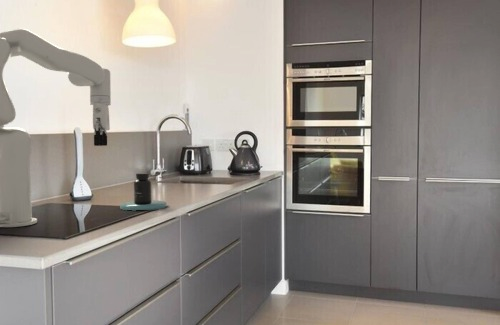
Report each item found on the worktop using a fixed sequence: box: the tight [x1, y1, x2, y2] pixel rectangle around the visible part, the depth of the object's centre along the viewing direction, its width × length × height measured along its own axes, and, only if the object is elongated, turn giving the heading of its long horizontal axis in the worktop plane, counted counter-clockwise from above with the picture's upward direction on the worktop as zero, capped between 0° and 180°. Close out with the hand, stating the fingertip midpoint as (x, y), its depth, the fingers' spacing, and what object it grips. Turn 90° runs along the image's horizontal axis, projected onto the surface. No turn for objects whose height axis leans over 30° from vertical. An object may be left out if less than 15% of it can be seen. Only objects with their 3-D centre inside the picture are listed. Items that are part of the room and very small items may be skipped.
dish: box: [119, 199, 168, 212], centre depth 199 cm, size 18×18×2 cm
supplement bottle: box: [133, 172, 153, 205], centre depth 198 cm, size 7×7×12 cm
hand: (100, 145), depth 194 cm, fingers open, 9 cm apart
